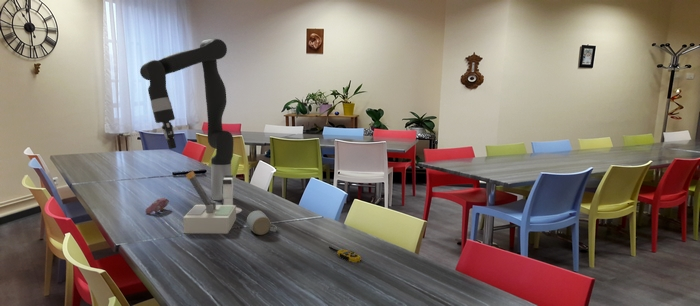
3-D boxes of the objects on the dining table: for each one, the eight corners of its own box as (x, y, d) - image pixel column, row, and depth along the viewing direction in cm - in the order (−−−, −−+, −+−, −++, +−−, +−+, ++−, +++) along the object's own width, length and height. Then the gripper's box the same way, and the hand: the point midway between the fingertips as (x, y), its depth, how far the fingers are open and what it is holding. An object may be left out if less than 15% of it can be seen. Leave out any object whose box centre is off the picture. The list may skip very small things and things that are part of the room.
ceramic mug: (252, 237, 159) (253, 216, 158) (246, 230, 166) (246, 211, 165) (280, 233, 164) (280, 214, 163) (272, 227, 171) (273, 208, 170)
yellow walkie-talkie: (352, 258, 138) (323, 245, 149) (352, 264, 138) (323, 250, 149) (363, 255, 141) (334, 242, 152) (363, 261, 141) (334, 247, 152)
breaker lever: (208, 212, 167) (185, 175, 164) (210, 209, 171) (188, 173, 168) (213, 209, 167) (190, 172, 164) (215, 207, 171) (192, 170, 168)
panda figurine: (216, 207, 196) (215, 174, 194) (242, 207, 198) (242, 174, 196) (213, 215, 184) (213, 180, 182) (241, 214, 186) (241, 180, 184)
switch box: (183, 233, 160) (183, 209, 159) (196, 218, 178) (195, 197, 177) (228, 233, 162) (228, 209, 160) (235, 219, 179) (235, 197, 178)
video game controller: (152, 218, 182) (158, 204, 180) (143, 212, 182) (149, 198, 181) (166, 212, 191) (172, 198, 190) (158, 206, 192) (164, 193, 190)
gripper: (173, 106, 174) (183, 146, 176) (171, 109, 187) (180, 146, 189) (153, 110, 171) (164, 150, 173) (152, 113, 184) (162, 150, 185)
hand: (172, 148), depth 181 cm, fingers open, 8 cm apart
